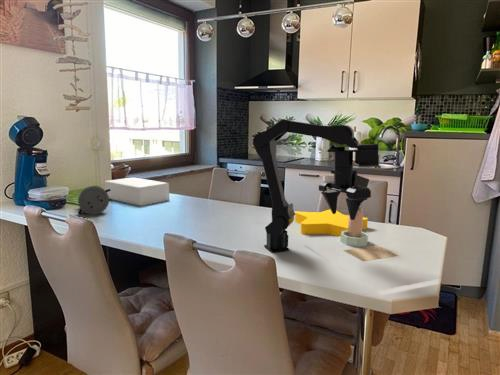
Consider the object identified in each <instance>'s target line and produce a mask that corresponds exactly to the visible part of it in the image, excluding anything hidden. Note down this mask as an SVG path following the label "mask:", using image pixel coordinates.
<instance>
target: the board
mask: <svg viewBox="0 0 500 375" xmlns="http://www.w3.org/2000/svg"><path fill="white" fill-rule="evenodd" d="M343 252H345V253H347V254H349V255H351V256H352V257H354V258H356V259H358V260H360V261H361V262H367V261H375V260H381V259H385V258H386V259H387V258H393V257H398V256H399V255H398V254H396V253H394V252H392V251H390V250H387V249H385V248H383V247H381V246H378V245H372V246H371V245H370V246H363V247H357V248H351V249H344V250H343Z"/></svg>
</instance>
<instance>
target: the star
mask: <svg viewBox="0 0 500 375" xmlns="http://www.w3.org/2000/svg"><path fill="white" fill-rule="evenodd" d="M294 213H295V215H294V222H295V223H297V224H299V225H300V234H301V235H319V234H326V235H327V234H328V235H332V236H335V237H341V233H342V231H348V219H349V214H343V213H342V212H339V211H338V210H337V209H336V214H332V212H331V210H330V208H329V209H326V210H323V211H320V212H315V211H314V212H312V211H311V212H310V211H294ZM368 222H369V218H368V217H365V216H363V223H362V230H366V229H367V230H368Z"/></svg>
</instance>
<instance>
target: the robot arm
mask: <svg viewBox="0 0 500 375" xmlns="http://www.w3.org/2000/svg"><path fill="white" fill-rule="evenodd" d="M287 133H291V134H298V135H304V136H309V137H316V138H321V139H324V140H326V141H329V142H331V143H333V144H331V146H330V147H329V148H328V149H327V150H326V151H327V153H333V169H331V170H330V173H331V174H333V180H327V181H321V182H320V183H319V184H318V191H319V192H320V194H321V195H322V196H323V197H324V199H325V201H326V203H327V205H328V208H329V209H330V210H331V212H332V214H336V210H337V206H338V197H339V196H340V194H341V193H345V194H346V198H345V202H346V206H347V210H348V215H349V216H350V219H351V220H354V219H355V217H356V214H357V211H358V209H359V207H360V206H361V205H362V203H364V201H367V200H368V199H369V198H372V190H371V189H370V188H369V187H368V186H369V183H370V178H367V177H364V176H361V175H358V171H357V169H354V163H355V164H356V165H358V167H360V168H379V167H380V154H379V153H380V152H379V151H380V150H379V145H380V144H379V143H372V144H360V141H358V140H357V138H356V137H355V131H354V129H353V128H352V126H350V125H348V124H341V125H339V124H337V125H336V124H335V125H321V124H317V123H316V124H314V123H309V122H308V123H307V122H303V121H302V122H301V121H295V120H290V119H286V118H285V119H283V118H282V119H280V120H279V121H277V123H275V124H274V125H272V126H270V127H269V128H267V129H266V130H265V131H264V132H259V133H256V135H254V137H253V139H252V144H253V147H254V149H255V152H256V155H257V156H258V157H259V159H260V160H261V162H262V166H263V170H264V173H265V178H266V182H267V186H268V190H269V195H270V199H271V203H272V204H271V222H270V223H268V224H267V225H266V226H265V228H264V229H265V233H266V244H263V245H264V246H263V247H265V249H267V250H268V251H270V252H271V253H279V252H286V251H287V252H288V251H290V249H289V235H288V231H287V229H288V227H290V226H291V225H292V223H293V222H294V221H295V211H294V204H293V203H289V202H287V201H288V200H286V197H285V192H284V189H283V184H282V180H281V176H280V170H279V167H278V163H277V159H276V157H277V142H278V141H279V140H280V139H282V138H283V137H284V136H285V135H286V134H287ZM336 144H338V145H341V146H337V145H336ZM347 147H349V148H350V149H347ZM360 208H361V207H360Z"/></svg>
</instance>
